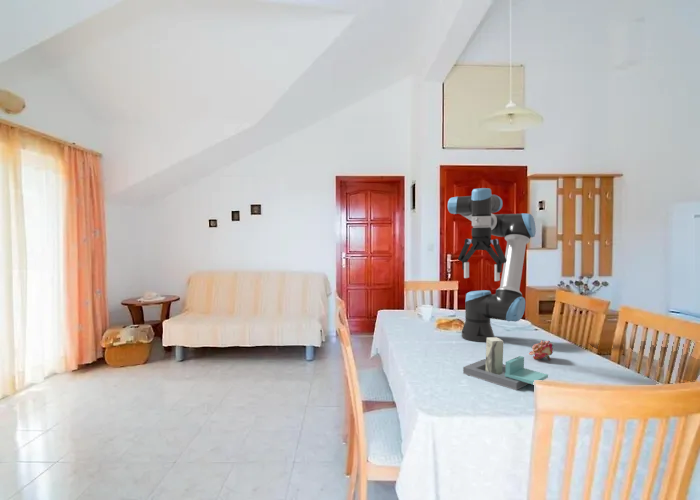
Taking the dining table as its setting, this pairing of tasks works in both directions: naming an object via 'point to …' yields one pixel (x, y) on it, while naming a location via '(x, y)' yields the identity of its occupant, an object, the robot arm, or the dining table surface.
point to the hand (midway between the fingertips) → (481, 279)
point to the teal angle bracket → (522, 371)
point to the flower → (542, 350)
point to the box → (494, 355)
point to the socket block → (492, 375)
